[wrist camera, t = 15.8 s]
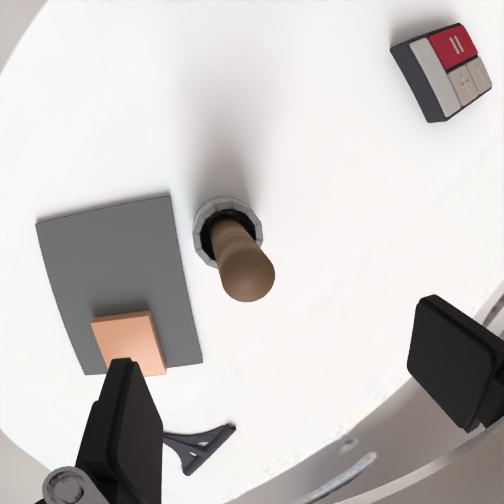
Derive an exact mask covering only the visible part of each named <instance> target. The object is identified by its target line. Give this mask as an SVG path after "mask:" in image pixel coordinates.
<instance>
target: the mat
mask: <svg viewBox="0 0 504 504" xmlns="http://www.w3.org/2000/svg"><path fill="white" fill-rule="evenodd" d="M35 226H36V231H37V235H38V240H39V244H40V248H41V252H42V256H43V260H44V263H45V267H46V271H47V274H48V278H49V281H50V284H51V287H52V291H53V294H54V297H55V300H56V303H57V306H58V309H59V312H60V315H61V317H62V320H63V323H64V326H65V328H66V331H67V334H68V336H69V339H70V341H71V344H72V346H73V349H74V351H75V353H76V356H77V358H78V360H79V363H80V365H81V367H82V369H83V372H84V374H85V375H97V374H107V372H108V368H107V366H106V363H105V361H104V358H103V356H102V353H101V350H100V348H99V345H98V343H97V340H96V337H95V335H94V332H93V329H92V326H91V321H92V320H93V318H94V317H102V316H110V315H117V314H125V313H132V312H139V311H147V310H150V312H151V316H152V320H153V323H154V327H155V330H156V334H157V337H158V341H159V344H160V347H161V351H162V354H163V357H164V360H165V364H166V367H167V368H170V367H178V366H186V365H193V364H200V363H203V359H202V355H201V351H200V347H199V343H198V338H197V334H196V330H195V325H194V321H193V316H192V312H191V307H190V302H189V297H188V293H187V288H186V283H185V278H184V273H183V268H182V262H181V257H180V252H179V246H178V241H177V235H176V229H175V223H174V217H173V211H172V205H171V199H170V196H165V197H159V198H154V199H148V200H143V201H137V202H132V203H127V204H122V205H117V206H112V207H107V208H102V209H97V210H92V211H88V212H83V213H79V214H74V215H70V216H65V217H61V218H57V219H53V220H49V221H45V222H40V223H37V224H35Z"/></svg>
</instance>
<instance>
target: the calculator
mask: <svg viewBox="0 0 504 504" xmlns="http://www.w3.org/2000/svg"><path fill="white" fill-rule="evenodd" d="M390 52H391V54H392V55H393V57H394V59H395V61H396V62H397V64H398V66H399V68H400V69H401V71H402V73H403V75H404V76H405V78H406V80H407V82H408V84H409V86H410V88H411V90H412V92H413V94H414V95H415V97H416V99H417V101H418V104H419V106H420V108H421V110H422V112H423V114H424V116H425V118H426V120H427V122H428V123H434V122H444V121H447V120H449V119H450V118H452V117H453V116H454V115H456V114H457V113H459V112H460V111H461V110H463V109H464V108H465V107H467V106H468V105H470V104H471V103H472V102H474V101H475V100H477V99H478V98H479V97H481V96H482V95H483V94H485V93H486V92H488V91H489V90H490V89H491V88H492V83H491V80H490V78H489V76H488V73H487V71H486V69H485V67H484V64H483V62H482V60H481V58H480V57H478V55H477V53H478V52H477V50H476V48H475V46H474V44H473V42H472V40H471V38H470V36H469V34H468V33H467V31H466V29H465V27H464V26H463V25H461V24H460V23H456V24H453V25H450V26H447V27H444V28H441V29H438V30H435V31H432V32H429V33H426V34H423V35H421V36H418V37H415V38H413V39H410V40H407V41H405V42H403V43H400V44H398V45H396V46H394V47H392V48H390Z"/></svg>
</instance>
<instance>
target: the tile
mask: <svg viewBox="0 0 504 504" xmlns="http://www.w3.org/2000/svg"><path fill="white" fill-rule="evenodd" d="M91 326H92V329H93V332H94V335H95V337H96V340H97V343H98V345H99V348H100V350H101V353H102V356H103V358H104V361H105V363H106V366H107V368H108V369H109V366H110V363H111V360H112V359H116V358H126V357H130V358H131V359H132V361H137V362H138V364H139V366H140V369H141V371H142V374H143V377H146V376H156V375H164V374H166V370H167V367H166V364H165V360H164V357H163V354H162V351H161V347H160V344H159V341H158V337H157V334H156V330H155V327H154V323H153V320H152V316H151V312H150V310H147V311H139V312H132V313H125V314H117V315H110V316H102V317H94V318H93V320H92V321H91Z"/></svg>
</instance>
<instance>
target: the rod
mask: <svg viewBox="0 0 504 504" xmlns="http://www.w3.org/2000/svg"><path fill="white" fill-rule="evenodd" d="M209 234H210V238H211V242H212V246H213V250H214V254H215V258H216V262H217V266H218V270H219V273H220V277H221V281H222V285H223V288H224V290H225V291H226V293H227V294H228V295H229V296H230V297H232V298H233V299H235V300H237V301H241V302H253V301H256V300H259V299H261V298H262V297H264V296H265V295H266V294H267V293H268V292H269V291H270V289H271V288H272V286H273V283H274V280H275V271H274V267H273V265H272V263H271V261H270V260H269V259H268V258H267V256H266V255H265V254H264V253H263V251H262V250H261V249H260V247H259V246H258V245H257V244H256V242H255V241H254V240H253V239H252V237H251V236H250V235H249V234H248V232H247V231H246V230H245V229H244V227H243V226H242V225H241V224H240V222H239V221H238V220H237V219H236V218H235V217H234V216H233V215H230V214H219V215H217V216H216V217H214V218H213V219H212V221H211V222H210V225H209Z"/></svg>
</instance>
